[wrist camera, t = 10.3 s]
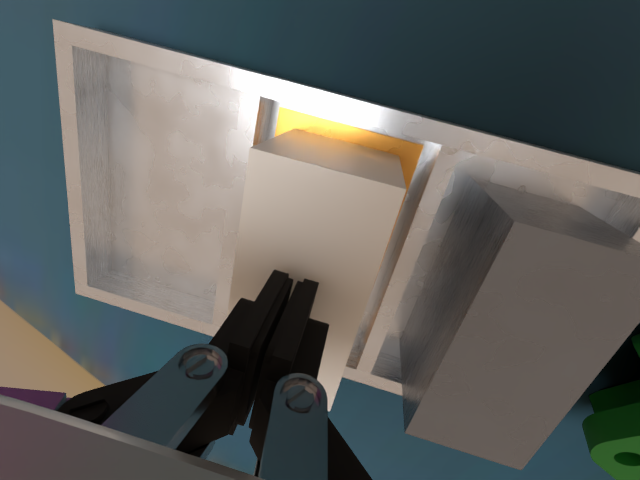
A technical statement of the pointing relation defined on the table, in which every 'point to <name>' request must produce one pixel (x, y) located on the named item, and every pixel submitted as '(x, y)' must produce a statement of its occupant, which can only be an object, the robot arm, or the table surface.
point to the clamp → (616, 428)
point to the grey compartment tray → (402, 250)
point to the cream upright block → (318, 229)
